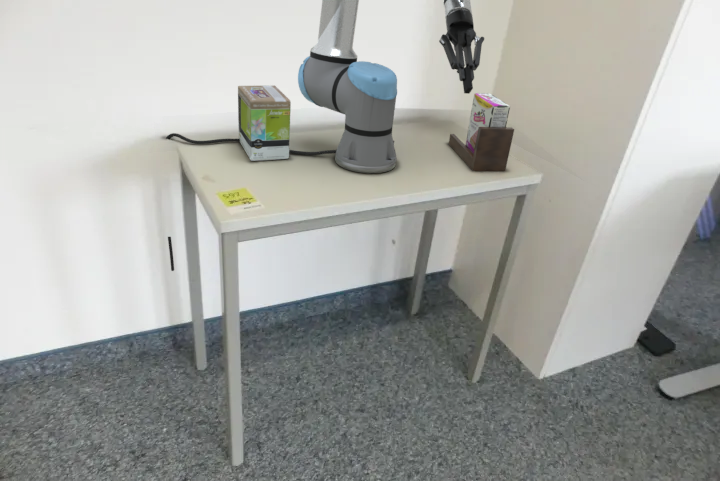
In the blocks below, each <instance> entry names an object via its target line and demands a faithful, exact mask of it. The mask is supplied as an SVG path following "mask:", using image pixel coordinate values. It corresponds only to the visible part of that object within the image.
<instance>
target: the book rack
mask: <svg viewBox="0 0 720 481" xmlns="http://www.w3.org/2000/svg"><path fill="white" fill-rule="evenodd" d="M514 133H515V128H513V127H512V126H511V127H509V126H506V127H479V128H478V133H477V139H476V144H475V149H474V154H473V153H472V152H471V151H470V150H469V149H468V148H467V147H466V146H465V145H466V143H464V142H463V141H462V140H461V139H460V138H459V137H458V136H457V135H456V134H455V133H449V139H448V145H449V146H450V148H452V149H453V151H454V152H455V153H456V154H457V155H458V157H459V158H461V160H462V161H464V163H465V164H466V165H467V166H468V167H469V168H470V170H472V172H506V169H507V165H508V160H509V156H510V152H511V147H512V142H513V137H514Z"/></svg>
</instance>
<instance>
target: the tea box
mask: <svg viewBox="0 0 720 481" xmlns="http://www.w3.org/2000/svg"><path fill="white" fill-rule="evenodd" d="M291 104H292V103H291V100H290V98H289V97H287V95H285V93H283V91H281V90H280V89H279V88H278V87H277V85H237V105H238V106H237V109H238V110H237V112H238V113H237V114H238V116H237V117H238V118H237V119H238V139H240V142H239V143H240V145H241V146H242V148H243V149H244V151H245V153H246V155H247V156H248V158H249V160H250V161H255V162H257V161H272V160H273V161H275V160H286V159H289V158H290V153H289V150H290V141H291V140H290V137H291V110H292V108H291V107H292V106H291Z"/></svg>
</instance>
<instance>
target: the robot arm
mask: <svg viewBox="0 0 720 481" xmlns="http://www.w3.org/2000/svg"><path fill="white" fill-rule="evenodd" d="M359 3H360V0H321V9H320V18H319V26H318V36H317V43H316V44H315V45H313V46H312V47H311V48H310V51H309V56H306V57H305V58H304V60H303V61H302V62H303V63H301V64H300V66H299V68H298V72H297V84H298V88H299V91H300V93H301V95H302V96H303V97H304V98H305V100H307V101H308V102H310V103H312V104H314V105H316V106H318V107H319V108H325V109H328V110H330V111H333V112H337V113H339V114H343V115H344V116H345V117H344V129H343V133H342V136H341V138H340V141H339V143H338V145H337V147H336V149H329V150H328V149H327V150H319V151H302V150H293V149H289V154H292V155H300V156H320V155H330V154H332V155H333V154H335V156H334V157H335V158H334V160H335V163H336V164H337V165H338V166H339V167H340V168H343V169H345V170H347V171H351V172H354V173H361V174H382V173H386V172H389V171H391V170H393V169H394V168H395V167H396V166H397V160H398V159H397V153H396V148H395V140H394V139H393V138H394V137H393V128H394V118H395V109H396V101H397V95H398V78H397V77H398V76H397V75H396V73H395V71H394V70H392V69H391V68H389V67H387V66H385V65H383V64H380V63H378V62H376V63H375V62H374V63H373V62H371V61H364V60H361V61H358V55H357V53H356V52H355V51H354V48H353V47H354V38H355V32H356V25H357V18H358V10H359ZM443 10H444V18H445V24H446V33H445V34H444V33H443V34H442V35H441V36H440V38H439V40H438V42H439V43H440V45H441V46H442V48H443V50H444V52H445V56H446V59H447V60H448V63H449V66H450V68H451V69H452V70H455V71H456V74H458V78H459V79H458V80H459V81H460V82H462V85H463V86H462V88H463V94H470V93H471V92H472V90H474V87H473V81H474V80H475V72H474V71H476V70H477V69H478V67H479V66H480V63H481V62H480V61H481V54H482V45H483V42H484V41H485V37H484V36H478V35H477V32H476V31H475V27H474V18H473V12H472V4H471V0H444V2H443ZM473 41H474V48H473V49H474V50H473V51H472V43H473ZM452 45H453V46H452ZM174 137H175V138H178V139H181V140H182V141H185V142H187V143H189V144H193V145H209V144H217V143H228V142H229V143H240V139H239V138H217V139H209V140H196V139H195V140H194V139H190V138H188V137H186V136H184V135H183V134H179V133H174V132H173V133H170V134H168V135H167V136H166V137H165V139H167V140H169V139H171V138H174ZM167 241H168V251H169V260H170V270H171V272H174V271H175V262H174V252H173V244H172V242H173V241H172V237H171V236H167Z"/></svg>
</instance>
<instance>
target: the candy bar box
mask: <svg viewBox="0 0 720 481" xmlns="http://www.w3.org/2000/svg"><path fill="white" fill-rule="evenodd" d="M510 110H511V105H510V104H507V103H506V102H505V101H503V100H501V99H500V98H499V97H497V96H495V95H493V94H492V93H489V92H487V93H485V92H481V93H480V92H477V93H476V92H475V93H473V100H472V105H471V111H470V117H469V124H468V127H467V128H468V129H467V134H466V139H465V140H466V141H465V146H466V147H467V148H468V149H469V150H470V151H471V152H472V153H473V154H474V149H475V144H476V139H477V133H478V128H479V127H507V124H508V118H509V114H510Z"/></svg>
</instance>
